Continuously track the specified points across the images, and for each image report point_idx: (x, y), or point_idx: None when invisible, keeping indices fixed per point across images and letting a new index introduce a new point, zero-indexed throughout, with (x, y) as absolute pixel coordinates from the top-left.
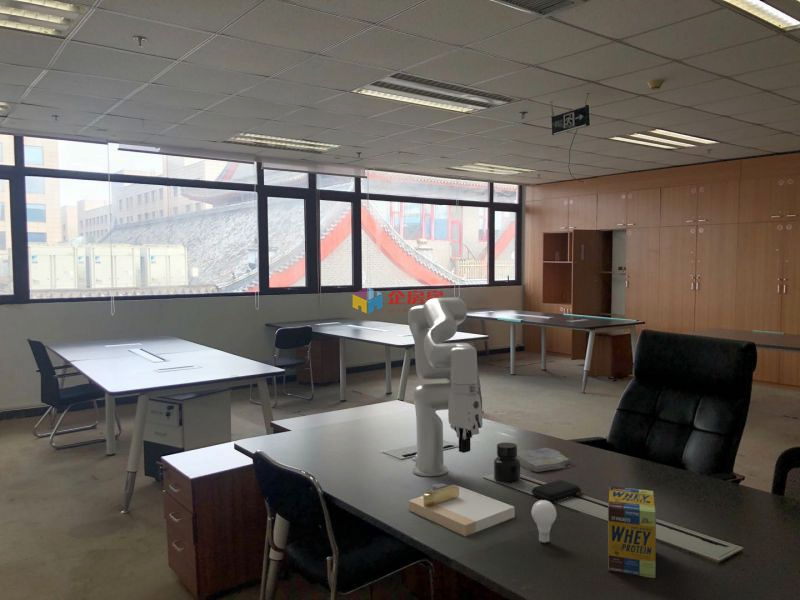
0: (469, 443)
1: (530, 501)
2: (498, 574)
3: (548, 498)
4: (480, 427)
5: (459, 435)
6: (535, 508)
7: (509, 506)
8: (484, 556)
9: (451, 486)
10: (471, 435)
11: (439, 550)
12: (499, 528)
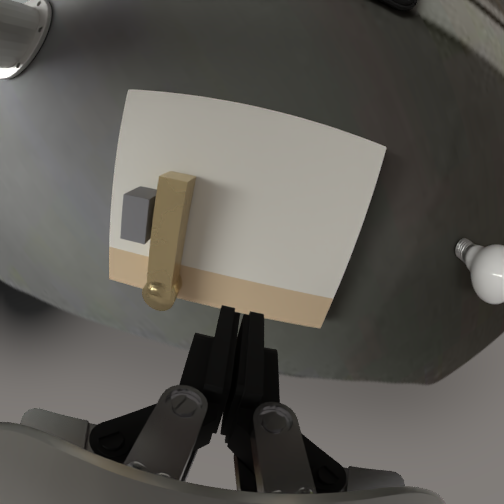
0: (275, 382)
1: (355, 19)
2: (407, 373)
3: (400, 9)
4: (420, 494)
5: (194, 453)
6: (490, 302)
7: (373, 151)
8: (378, 351)
9: (166, 198)
10: (312, 457)
11: (300, 374)
12: (368, 234)
